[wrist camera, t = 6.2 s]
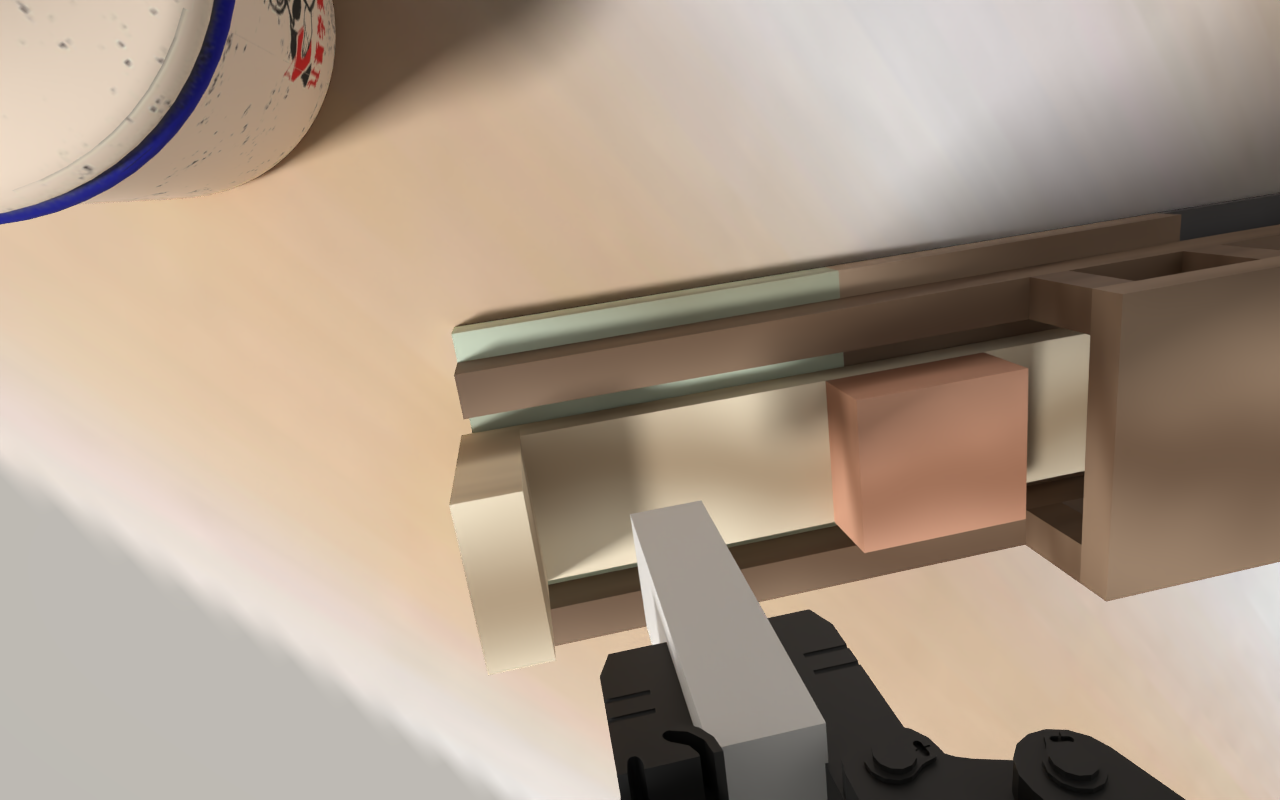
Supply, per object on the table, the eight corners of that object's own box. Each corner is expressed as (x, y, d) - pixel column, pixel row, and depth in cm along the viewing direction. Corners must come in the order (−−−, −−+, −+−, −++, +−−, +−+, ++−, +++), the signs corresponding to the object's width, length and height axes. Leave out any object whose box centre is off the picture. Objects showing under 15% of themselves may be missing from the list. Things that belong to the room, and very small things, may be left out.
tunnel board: (454, 327, 21) (435, 377, 16) (1347, 182, 25) (1584, 182, 19) (518, 631, 24) (521, 763, 19) (1308, 464, 28) (1505, 533, 22)
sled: (461, 435, 21) (449, 505, 17) (1072, 325, 23) (1209, 360, 19) (491, 575, 22) (487, 675, 18) (1068, 458, 25) (1195, 521, 20)
